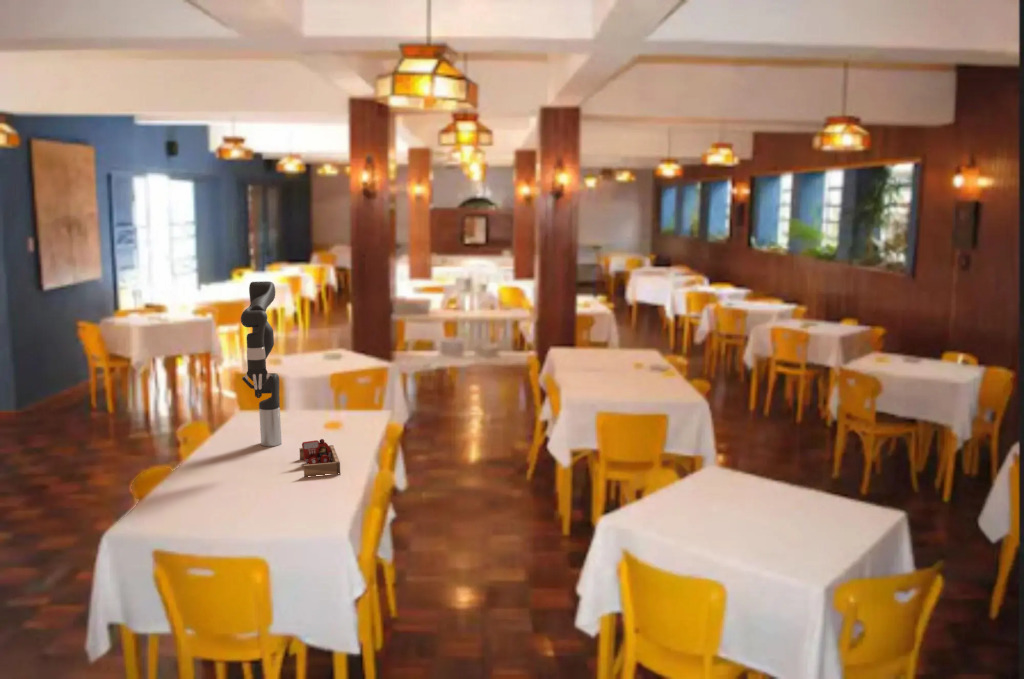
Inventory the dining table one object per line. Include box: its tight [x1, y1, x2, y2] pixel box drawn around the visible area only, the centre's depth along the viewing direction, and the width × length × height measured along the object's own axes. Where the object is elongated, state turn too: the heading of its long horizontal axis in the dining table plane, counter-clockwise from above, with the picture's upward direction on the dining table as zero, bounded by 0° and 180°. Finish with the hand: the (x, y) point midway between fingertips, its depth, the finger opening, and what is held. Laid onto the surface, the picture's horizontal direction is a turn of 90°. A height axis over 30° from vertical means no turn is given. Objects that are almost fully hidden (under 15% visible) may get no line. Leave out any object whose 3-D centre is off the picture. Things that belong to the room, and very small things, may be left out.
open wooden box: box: [299, 444, 341, 478], centre depth 385 cm, size 27×14×5 cm, turn 17°
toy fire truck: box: [301, 438, 331, 464], centre depth 389 cm, size 7×12×10 cm, turn 120°
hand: (258, 397), depth 385 cm, fingers closed
